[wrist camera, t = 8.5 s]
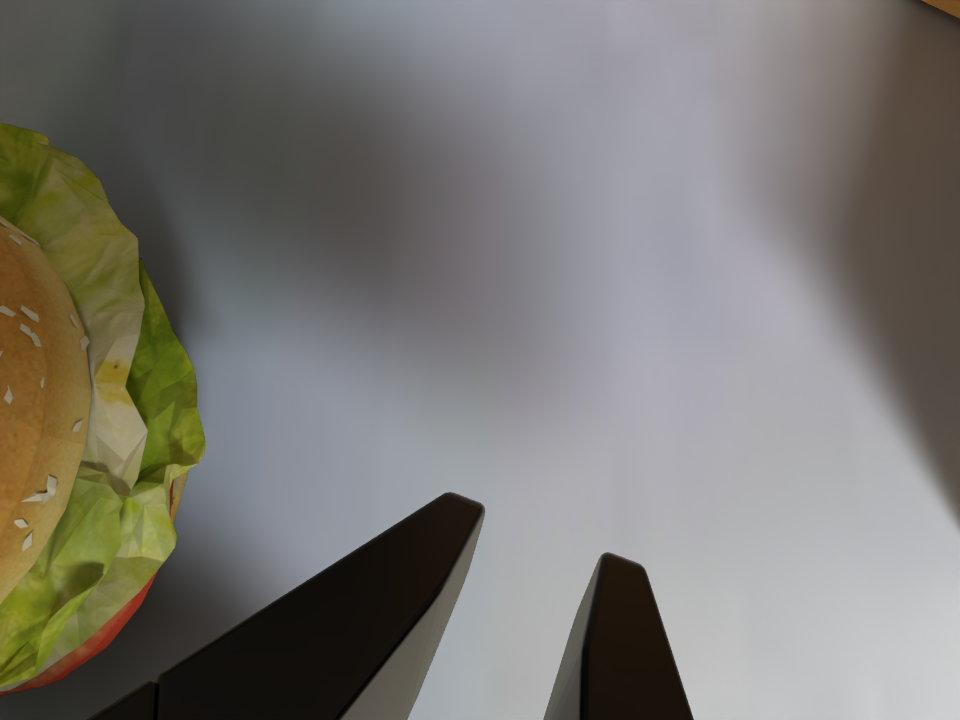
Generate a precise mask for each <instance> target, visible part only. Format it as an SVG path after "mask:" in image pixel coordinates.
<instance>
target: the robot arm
mask: <svg viewBox="0 0 960 720" xmlns="http://www.w3.org/2000/svg"><path fill="white" fill-rule="evenodd" d="M484 516H485V508H484V506H483V504H481V503H479V502H476V501H474V500H471V499H469V498H466V497H463V496H461V495H458V494H456V493H452V492H448V493H444V494H443V495H441V496H439V497H438V498H436V499H435V500H433V501H432V502H430V503H428V504H427V505H425V506H424V507H422V508H421V509H419V510H417V511H416V512H414V513H413V514H411V515H410V516H408V517H406V518H405V519H403V520H402V521H400V522H399V523H397V524H395V525H394V526H392V527H391V528H389V529H388V530H386V531H384V532H383V533H381V534H380V535H378V536H377V537H375V538H373V539H372V540H370V541H369V542H367V543H366V544H364V545H362V546H361V547H359V548H358V549H356V550H354V551H353V552H351V553H350V554H348V555H347V556H345V557H343V558H342V559H340V560H339V561H337V562H336V563H334V564H332V565H331V566H329V567H328V568H326V569H325V570H323V571H321V572H320V573H318V574H317V575H315V576H314V577H312V578H310V579H309V580H307V581H306V582H304V583H303V584H301V585H299V586H298V587H296V588H295V589H293V590H292V591H290V592H288V593H287V594H285V595H284V596H282V597H281V598H279V599H277V600H276V601H274V602H273V603H271V604H270V605H268V606H266V607H265V608H263V609H262V610H260V611H259V612H257V613H255V614H254V615H252V616H251V617H249V618H247V619H246V620H244V621H243V622H241V623H240V624H238V625H236V626H235V627H233V628H232V629H230V630H229V631H227V632H225V633H224V634H222V635H221V636H219V637H218V638H216V639H214V640H213V641H211V642H210V643H208V644H207V645H205V646H203V647H202V648H200V649H199V650H197V651H196V652H194V653H192V654H191V655H189V656H188V657H186V658H185V659H183V660H181V661H180V662H178V663H177V664H175V665H174V666H172V667H170V668H169V669H167V670H166V671H164V672H163V673H161V674H160V675H159V676H158V680H157V683H156V682H155V681H153V680H150V681H147V682H146V683H144V684H143V685H141V686H140V687H138V688H137V689H135V690H133V691H132V692H130V693H129V694H127V695H126V696H124V697H123V698H121V699H119V700H118V701H116V702H115V703H113V704H112V705H110V706H109V707H107V708H105V709H104V710H102V711H100V712H99V713H97V714H95V715H94V716H92V717H90V718H89V719H87V720H407V719H408V717H409V714H410V712H411V710H412V708H413V705H414V703H415V701H416V699H417V696H418V694H419V692H420V689H421V687H422V684H423V682H424V679H425V677H426V674H427V672H428V670H429V667H430V665H431V662H432V660H433V657H434V655H435V652H436V650H437V648H438V645H439V643H440V640H441V638H442V635H443V633H444V631H445V628H446V626H447V623H448V621H449V618H450V616H451V613H452V611H453V609H454V606H455V604H456V601H457V599H458V596H459V594H460V591H461V589H462V587H463V584H464V581H465V579H466V576H467V573H468V570H469V568H470V564H471V561H472V558H473V554H474V551H475V547H476V544H477V540H478V537H479V534H480V530H481V527H482V523H483V520H484ZM543 720H694V719H693V716H692V713H691V709H690V706H689V703H688V700H687V697H686V694H685V691H684V688H683V685H682V681H681V678H680V675H679V672H678V669H677V666H676V663H675V660H674V657H673V654H672V650H671V647H670V644H669V641H668V638H667V635H666V632H665V629H664V626H663V622H662V619H661V616H660V613H659V610H658V607H657V604H656V601H655V598H654V594H653V591H652V588H651V585H650V582H649V579H648V576H647V573H646V570H645V569H644V567H643V566H642V565H640V564H638V563H636V562H633V561H631V560H628V559H625V558H623V557H620V556H618V555H615V554H612V553H609V552H607V553H604V554H603V555H601V557H600V558H599V560H598V563H597V565H596V567H595V570H594V572H593V575H592V577H591V579H590V582H589V584H588V587H587V589H586V591H585V594H584V596H583V599H582V601H581V604H580V606H579V608H578V611H577V614H576V617H575V619H574V622H573V625H572V629H571V632H570V635H569V638H568V641H567V645H566V648H565V651H564V654H563V658H562V661H561V664H560V667H559V671H558V674H557V677H556V680H555V684H554V687H553V690H552V693H551V697H550V700H549V703H548V706H547V710H546V713H545V716H544V719H543Z"/></svg>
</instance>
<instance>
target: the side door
mask: <svg viewBox="0 0 960 720" xmlns="http://www.w3.org/2000/svg"><path fill="white" fill-rule="evenodd" d="M922 1H924V2H926V3H928V4H930V5H932V6H934V7H936V8H939V9H941V10H943V11H945V12H947V13H949V14H951V15H953V16H956V17H958V18H960V0H922Z"/></svg>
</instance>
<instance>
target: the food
mask: <svg viewBox="0 0 960 720" xmlns="http://www.w3.org/2000/svg"><path fill="white" fill-rule="evenodd" d="M204 453H205V436H204V432H203V428H202V425H201V421H200V417H199V413H198V409H197V383H196V378H195V372H194V367H193V365H192V363H191V361H190V359H189V357H188V355H187V353H186V351H185V350H184V348H183V347H182V345H181V343H180V342H179V340H178V339H177V337H176V335H175V333H174V331H173V330H172V327H171V325H170V322H169V320H168V318H167V315H166V313H165V310H164V308H163V306H162V304H161V302H160V300H159V298H158V295H157V293H156V291H155V289H154V287H153V285H152V283H151V281H150V279H149V277H148V275H147V272H146V270H145V266H144V264H143V262H142V260H141V258H140V260H139V257H138V238H137V237H136V236H135V235H134V234H133V233H132V232H131V231H129V230H128V229H127V228H126V227H125V226H124V225H122V224H121V222H120V221H119V219H118V218H117V216H116V214H115V213H114V211H113V210H112V208H111V206H110V204H109V201H108V199H107V197H106V194H105V192H104V189H103V187H102V184H101V182H100V180H99V179H98V178H97V177H96V176H95V175H94V174H93V173H92V171H91V170H90V169H89V168H88V167H87V166H86V165H85V164H84V163H83V162H82V161H81V160H80V159H79V158H76V157H74V156H72V155H70V154H67V153H65V152H63V151H61V150H58V149H56V148H54V147H52V146H49V138H47V137H46V136H45V135H43V134H42V133H38V132H34V131H31V130H27V129H23V128H19V127H16V126H11V125H8V124H4V123H0V696H3V695H7V694H11V693H15V692H20V691H24V690H28V689H32V688H37V687H41V686H44V685H47V684H50V683H53V682H56V681H59V680H61V679H63V678H64V677H65V676H67V675H68V674H70V673H71V672H72V671H74V670H75V669H77V668H78V667H80V666H81V665H82V664H84V663H85V662H87V661H88V660H89V659H91V658H92V657H94V656H95V655H96V654H98V653H99V652H101V651H102V650H104V649H105V648H106V647H108V646H109V644H110V643H111V642H112V641H113V639H114V638H115V637H116V636H117V634H118V633H119V632H120V630H121V629H122V628H123V627H124V625H125V624H126V623H127V622H128V620H129V619H130V618H131V617H132V615H133V614H134V613H135V612H136V610H137V609H138V608H139V607H140V605H141V604H142V602H143V600H144V598H145V596H146V594H147V592H148V590H149V588H150V586H151V584H152V582H153V580H154V578H155V575H156V573H157V571H158V569H159V568H160V567H161V565H162V564H163V563H164V562H165V560H166V559H167V558H168V556H169V555H170V553H171V552H172V551H173V549H174V548H175V546H176V540H177V536H176V533H175V530H174V527H173V523H174V519H175V516H176V512H177V509H178V505H179V502H180V499H181V495H182V492H183V488H184V485H185V481H186V478H187V474H188V471H189V469H190V468H192V467H193V466H195V465H197V464H198V463H199V461H200V460H201V458H202V457H203V455H204Z"/></svg>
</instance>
